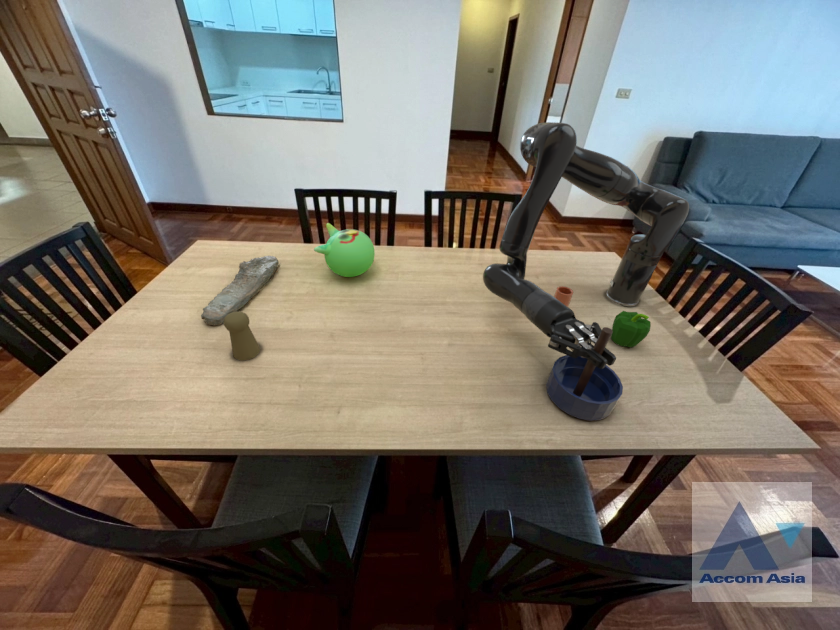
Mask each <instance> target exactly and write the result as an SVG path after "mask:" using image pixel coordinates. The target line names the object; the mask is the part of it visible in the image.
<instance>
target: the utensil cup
mask: <svg viewBox="0 0 840 630" xmlns="http://www.w3.org/2000/svg"><path fill="white" fill-rule="evenodd" d="M573 295H574V290H573V288H571V287H568V286H564V285H561V286H557V287H556V290H555V293H554V295H553V297H555V298H556V299H557V300H559V301H560V302H561V303H563V304H564V305H565V306H567V307H568V308H569V306H570V303H571V302H572V301H571V300H572V298H573Z"/></svg>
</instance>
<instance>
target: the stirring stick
mask: <svg viewBox="0 0 840 630" xmlns="http://www.w3.org/2000/svg"><path fill="white" fill-rule="evenodd" d="M601 330H602V331H601V333H600V335H599V337H598V340H597V342H596V344H594V345H595V346H594V345H593V346H594V348H593V349H594V350H595V351H596V352H598V353H599V354H600V355H602V353H603V351H604V349H605V348H607V345H608V343H609V341H610V339H611V335H612V333H613V331H612V328H610V327H608V326H605V327H602V328H601ZM595 367H596V366H595V365H593V364H592V363H591V362H590V361H589V360H588V361H587V363H586V365H585V367H584V370H583V372H582V374H581V376H580V378H579V380H578V382H577V385H576V387H575V389H574V391H573V394H575V395H577V396H579V397H581V396H582V394H583V392H584V390H585V388H586V386H587V384H588V382H589V380H590V377H591V375H592V373H593V371H594V369H595Z"/></svg>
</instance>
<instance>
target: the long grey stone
mask: <svg viewBox="0 0 840 630" xmlns="http://www.w3.org/2000/svg"><path fill="white" fill-rule="evenodd" d="M279 265H280V262H279V260H278V258H277V256H273V255H264V256H260V257H254V258H251V259H250V260H247V261H245V260H243V262H240V263H239V265H238V268H239V270H238V272H237V273H236V274H235V275H234V279H233V280H232V281H231V282H230V283H229V284H227V285H226V286H225V287H224V288H222V290H221V291H220V293H217V294H216V295H215V296H214V297H213V299H212V300H210V301H209V302H208V304H207V305H206V306H205V307H203V308H202V313H201V315H200V317H201V320H204V323H205V324H206V325H209V326H220V325H222V324H224V319H225V317H226V316H227V315H228V314H230V313H232V312H238V311H240V309H242V307H244V306H245V305H246V304H247V303H248V302H249V301H250V300H251V299H252V298H253V297H254V296H255V295H257V294H258V293H259V291H260V289H262V288H263V286H264V285H265V284H267V283H268V281H270V279H271V277H272V276H273V275H274V274H275V273H276V270H277V269H278V267H279Z"/></svg>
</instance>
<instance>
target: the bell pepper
mask: <svg viewBox="0 0 840 630" xmlns="http://www.w3.org/2000/svg"><path fill="white" fill-rule="evenodd" d="M648 319H650V317H649V316H648V315H647V314H644V313H638V312H637V311H626V310H622V311H620V312H619V313H617V314H616V315H615V318H614V320H613V323H612V327H611V329H612V331H613V333H612V335H611V337H610V339H611V341H612V342H613V343H614V344H616V345H617V346H619V347H623V348H624V347H627V348H634V347H636V346H637V345H639V344H640V343H641V342H642V341H644V339H645V338H647V337H648V335H649V333H650V331H651V327H652V326H651V321H650V320H648Z"/></svg>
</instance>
